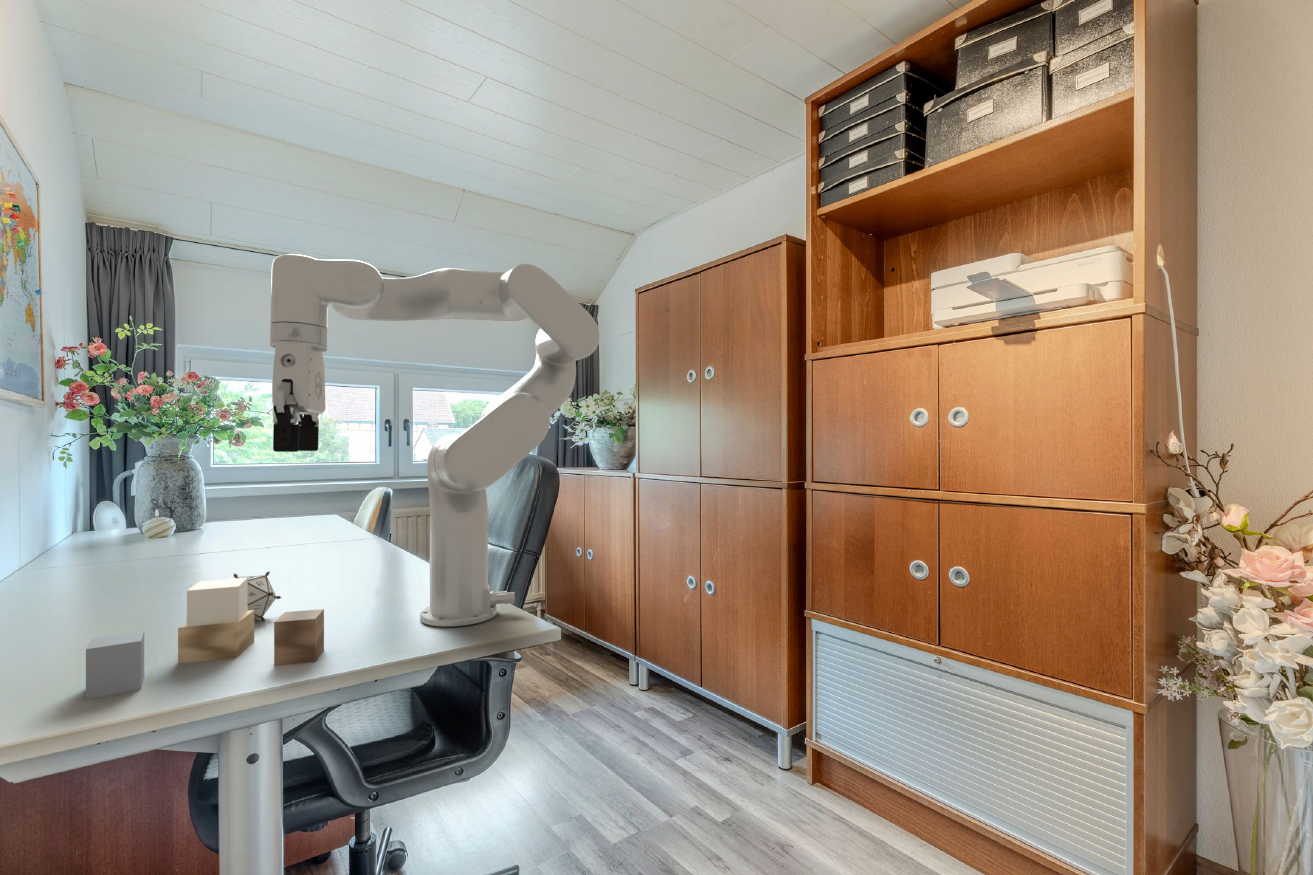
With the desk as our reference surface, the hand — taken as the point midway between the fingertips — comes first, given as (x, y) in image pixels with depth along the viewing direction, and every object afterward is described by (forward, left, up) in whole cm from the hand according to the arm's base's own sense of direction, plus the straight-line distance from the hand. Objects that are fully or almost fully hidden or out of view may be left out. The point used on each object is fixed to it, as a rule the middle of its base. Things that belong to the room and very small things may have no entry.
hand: (296, 451), depth 93 cm
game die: (+11, -14, -29) cm, 34 cm away
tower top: (+10, +2, -24) cm, 26 cm away
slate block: (+17, +13, -29) cm, 36 cm away
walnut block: (-2, +8, -29) cm, 30 cm away
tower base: (+10, +2, -29) cm, 31 cm away
